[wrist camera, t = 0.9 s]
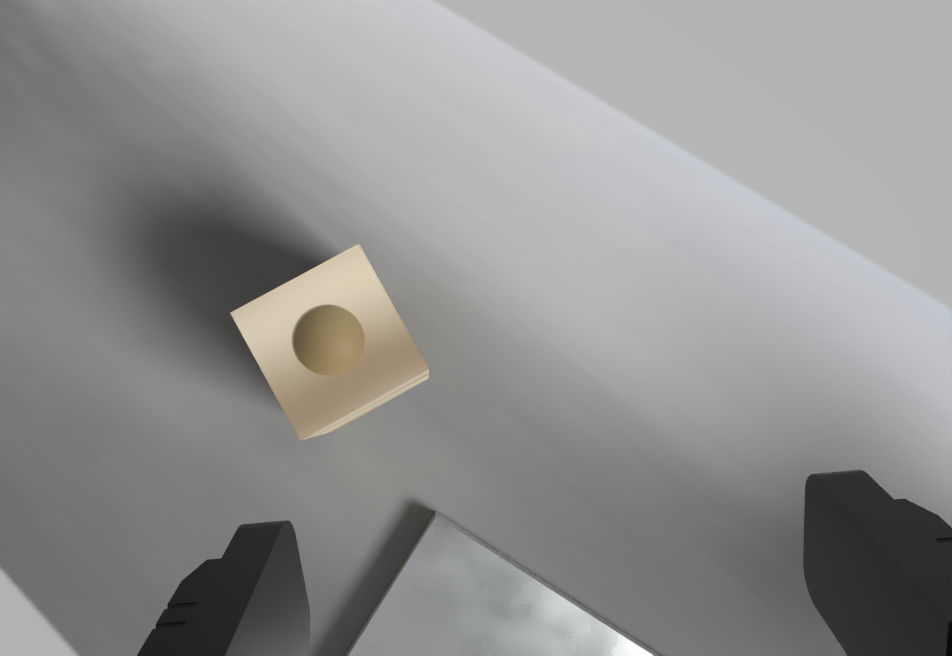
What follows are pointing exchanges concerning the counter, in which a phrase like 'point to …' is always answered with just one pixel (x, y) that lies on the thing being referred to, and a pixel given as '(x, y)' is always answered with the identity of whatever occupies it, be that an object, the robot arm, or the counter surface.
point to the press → (480, 607)
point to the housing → (331, 344)
